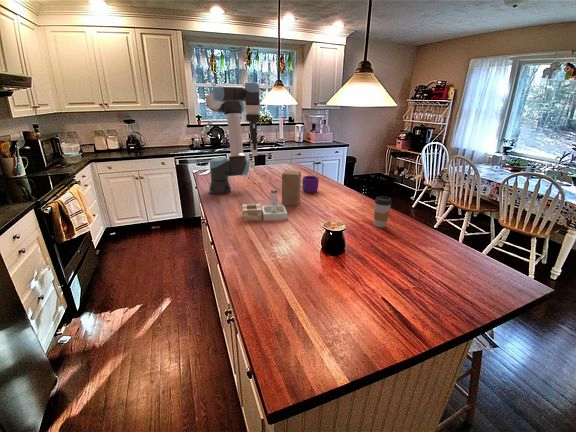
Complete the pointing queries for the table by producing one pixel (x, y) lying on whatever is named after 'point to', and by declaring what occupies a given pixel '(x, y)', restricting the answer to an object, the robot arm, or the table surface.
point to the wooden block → (291, 187)
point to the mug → (310, 184)
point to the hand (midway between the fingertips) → (253, 153)
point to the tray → (270, 216)
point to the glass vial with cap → (273, 201)
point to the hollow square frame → (251, 212)
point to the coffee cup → (381, 211)
